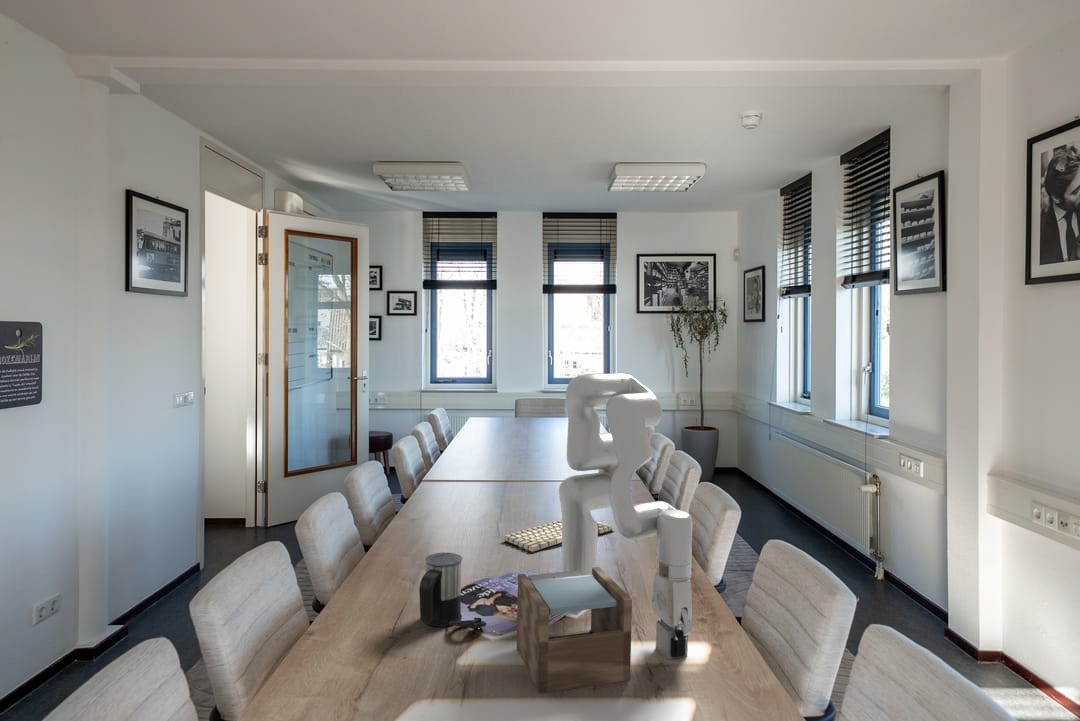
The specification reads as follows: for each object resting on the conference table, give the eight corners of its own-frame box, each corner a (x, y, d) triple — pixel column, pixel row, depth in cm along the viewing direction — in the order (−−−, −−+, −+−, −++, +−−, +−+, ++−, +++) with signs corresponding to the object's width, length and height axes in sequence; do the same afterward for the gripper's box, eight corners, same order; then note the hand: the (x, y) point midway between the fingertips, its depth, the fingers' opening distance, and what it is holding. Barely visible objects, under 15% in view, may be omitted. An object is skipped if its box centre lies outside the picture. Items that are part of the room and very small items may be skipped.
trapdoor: (521, 597, 142) (522, 570, 142) (583, 590, 147) (583, 565, 146) (547, 639, 123) (548, 608, 123) (617, 630, 127) (618, 600, 127)
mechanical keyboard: (538, 558, 195) (538, 548, 195) (498, 543, 209) (499, 533, 209) (616, 533, 221) (616, 524, 221) (576, 521, 235) (576, 512, 235)
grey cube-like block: (655, 647, 140) (656, 621, 139) (676, 645, 141) (676, 618, 141) (666, 659, 135) (667, 631, 134) (687, 656, 136) (688, 629, 136)
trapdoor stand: (516, 648, 138) (517, 574, 138) (597, 637, 144) (598, 566, 143) (539, 693, 121) (541, 609, 120) (630, 679, 126) (632, 599, 126)
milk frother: (428, 609, 157) (428, 551, 156) (491, 611, 156) (491, 552, 156) (414, 637, 143) (415, 572, 142) (484, 639, 142) (484, 574, 141)
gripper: (640, 556, 144) (639, 633, 145) (677, 584, 128) (674, 672, 129) (670, 553, 146) (668, 630, 147) (709, 581, 130) (707, 667, 131)
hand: (671, 648), depth 138 cm, fingers closed on grey cube-like block, 5 cm apart
